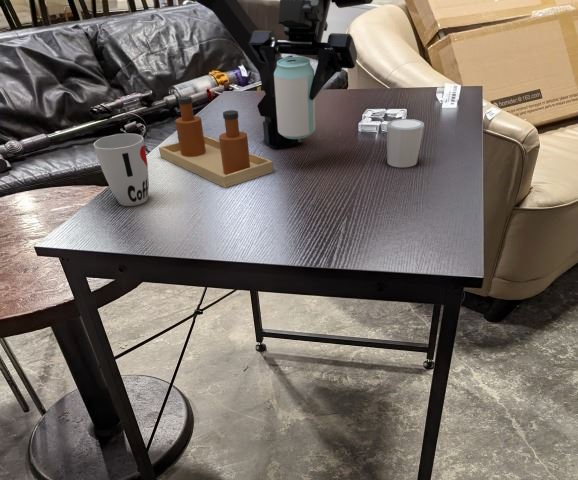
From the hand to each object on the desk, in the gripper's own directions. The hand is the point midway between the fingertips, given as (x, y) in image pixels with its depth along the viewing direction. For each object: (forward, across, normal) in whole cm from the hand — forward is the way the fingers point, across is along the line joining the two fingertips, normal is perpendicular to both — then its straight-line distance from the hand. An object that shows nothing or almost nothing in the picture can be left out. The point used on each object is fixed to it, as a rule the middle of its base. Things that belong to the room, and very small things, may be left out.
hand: (291, 97), depth 93 cm
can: (+4, 0, +6) cm, 7 cm away
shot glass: (+4, +19, +14) cm, 24 cm away
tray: (+11, -16, +7) cm, 21 cm away
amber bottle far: (+8, -23, +10) cm, 27 cm away
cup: (+24, -22, -8) cm, 34 cm away
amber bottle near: (+13, -9, +4) cm, 16 cm away
